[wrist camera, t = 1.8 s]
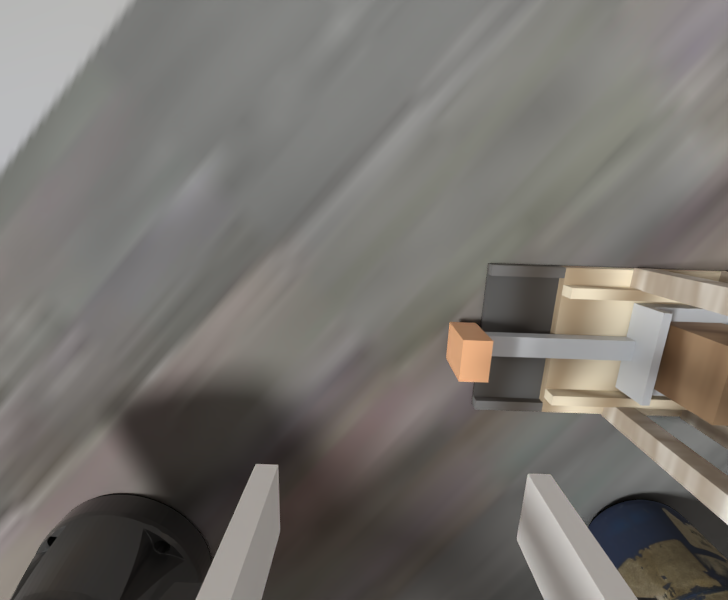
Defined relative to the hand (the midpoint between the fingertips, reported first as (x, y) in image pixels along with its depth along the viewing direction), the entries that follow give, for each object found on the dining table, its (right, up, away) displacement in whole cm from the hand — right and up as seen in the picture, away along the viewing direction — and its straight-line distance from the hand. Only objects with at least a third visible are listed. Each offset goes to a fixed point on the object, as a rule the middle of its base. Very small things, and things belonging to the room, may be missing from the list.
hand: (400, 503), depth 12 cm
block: (+23, +3, +15) cm, 27 cm away
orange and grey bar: (+16, +3, +16) cm, 22 cm away
